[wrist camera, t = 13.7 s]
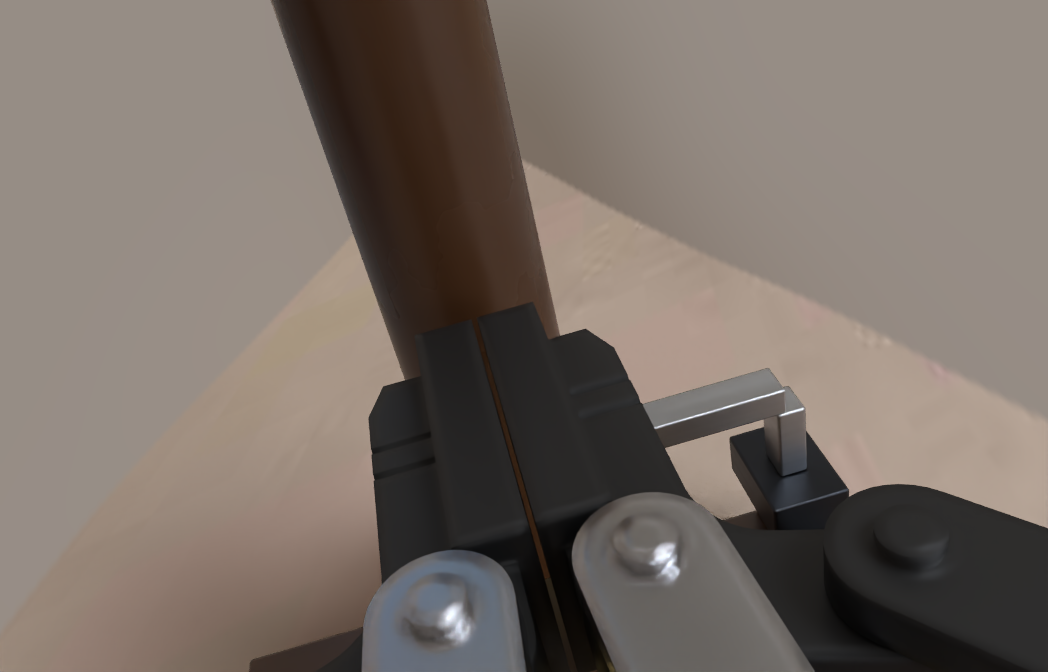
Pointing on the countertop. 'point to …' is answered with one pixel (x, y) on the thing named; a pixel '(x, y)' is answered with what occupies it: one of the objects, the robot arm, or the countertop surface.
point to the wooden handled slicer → (491, 223)
